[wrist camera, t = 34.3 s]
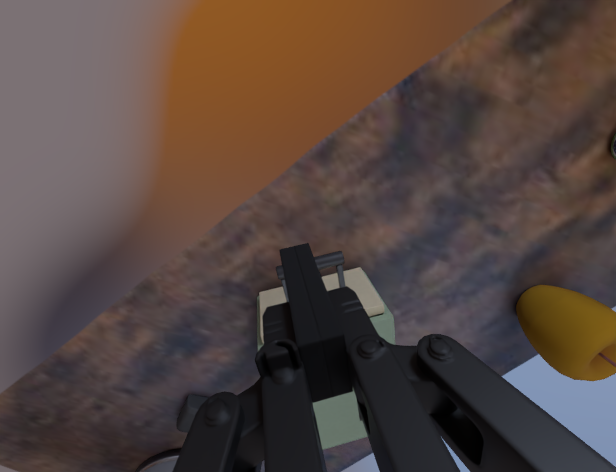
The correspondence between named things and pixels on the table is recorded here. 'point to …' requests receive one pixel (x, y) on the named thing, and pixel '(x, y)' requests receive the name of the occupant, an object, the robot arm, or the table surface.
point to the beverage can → (613, 146)
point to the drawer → (328, 286)
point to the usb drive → (189, 412)
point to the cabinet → (343, 409)
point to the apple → (570, 331)
